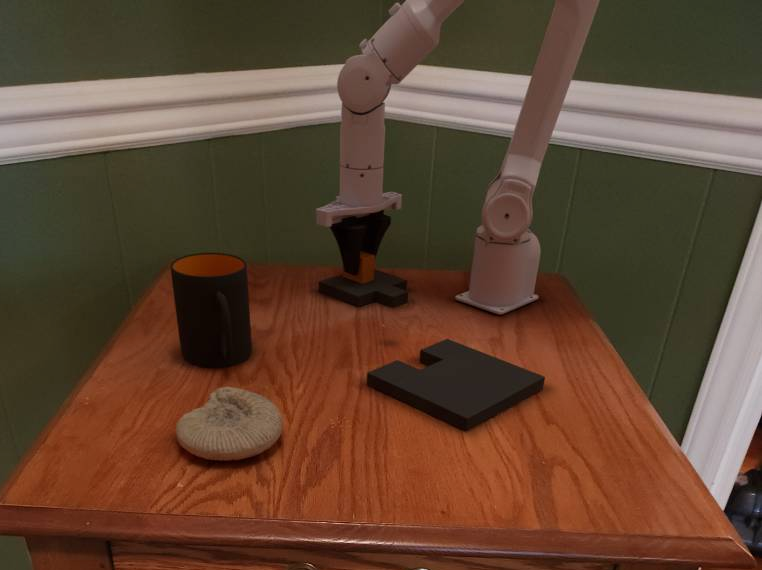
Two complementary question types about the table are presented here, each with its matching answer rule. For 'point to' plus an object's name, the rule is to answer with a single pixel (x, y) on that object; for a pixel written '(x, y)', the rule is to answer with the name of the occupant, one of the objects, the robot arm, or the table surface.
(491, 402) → the charcoal mat
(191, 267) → the mug
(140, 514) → the table surface
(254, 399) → the fossil
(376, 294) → the black pad
